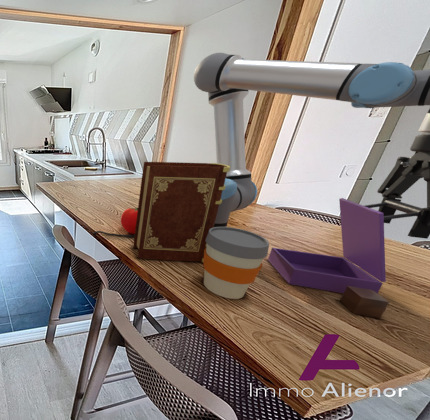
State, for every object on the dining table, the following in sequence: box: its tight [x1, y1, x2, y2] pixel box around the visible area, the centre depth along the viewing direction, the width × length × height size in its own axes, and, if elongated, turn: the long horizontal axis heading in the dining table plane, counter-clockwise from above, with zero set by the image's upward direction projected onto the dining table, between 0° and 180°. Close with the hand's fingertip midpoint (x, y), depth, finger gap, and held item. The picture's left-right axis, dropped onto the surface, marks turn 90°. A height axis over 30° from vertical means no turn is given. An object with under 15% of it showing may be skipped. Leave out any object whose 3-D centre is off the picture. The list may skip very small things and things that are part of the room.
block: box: [339, 286, 390, 319], centre depth 56 cm, size 4×4×4 cm
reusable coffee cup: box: [202, 226, 270, 300], centre depth 62 cm, size 13×12×15 cm
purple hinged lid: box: [339, 197, 423, 283], centre depth 61 cm, size 18×13×9 cm
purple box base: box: [267, 247, 384, 294], centre depth 68 cm, size 17×13×5 cm
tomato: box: [120, 207, 138, 235], centre depth 96 cm, size 12×12×10 cm
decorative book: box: [132, 161, 230, 263], centre depth 76 cm, size 22×8×30 cm, turn 84°
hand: (398, 229), depth 60 cm, fingers closed on purple hinged lid, 9 cm apart
